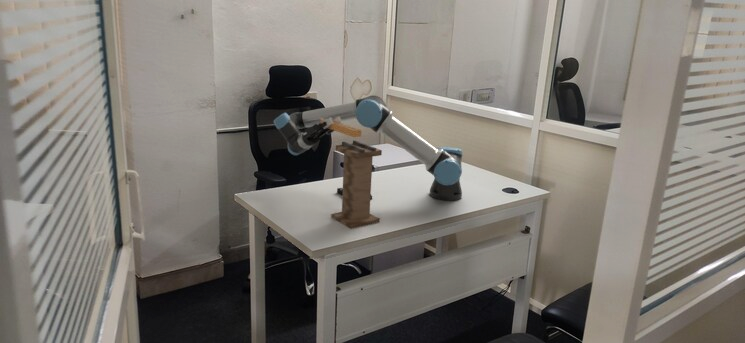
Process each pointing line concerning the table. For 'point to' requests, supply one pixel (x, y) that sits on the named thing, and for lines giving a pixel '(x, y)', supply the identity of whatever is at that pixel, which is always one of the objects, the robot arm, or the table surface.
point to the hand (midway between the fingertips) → (335, 120)
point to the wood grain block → (344, 129)
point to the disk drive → (340, 191)
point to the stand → (356, 184)
